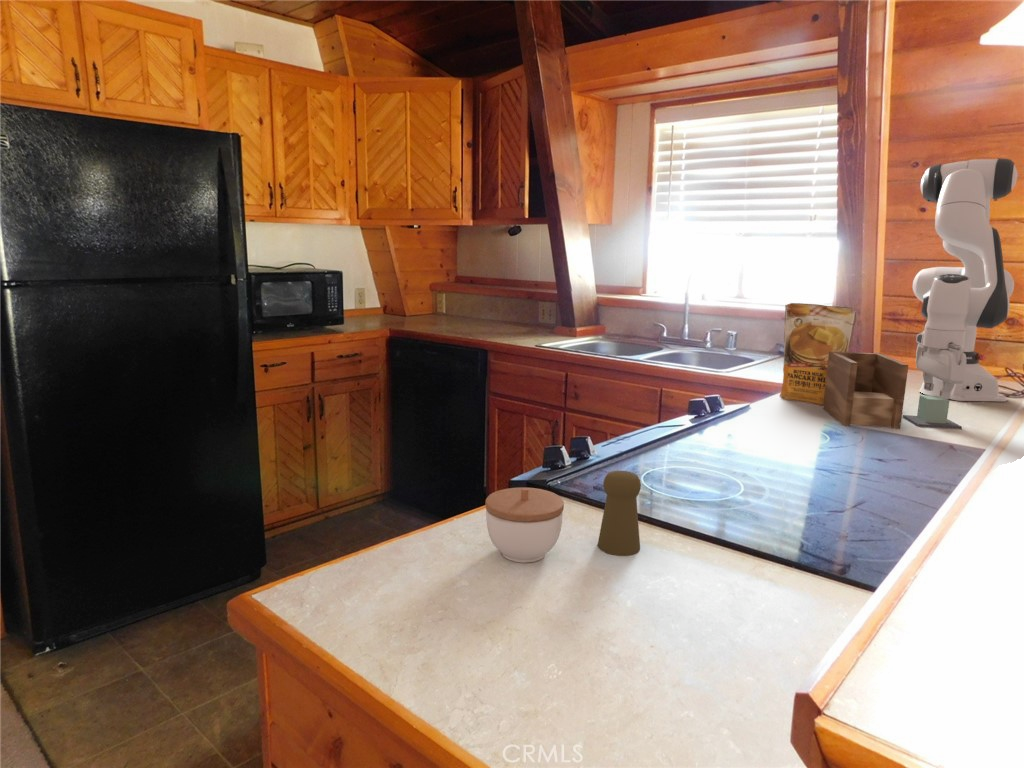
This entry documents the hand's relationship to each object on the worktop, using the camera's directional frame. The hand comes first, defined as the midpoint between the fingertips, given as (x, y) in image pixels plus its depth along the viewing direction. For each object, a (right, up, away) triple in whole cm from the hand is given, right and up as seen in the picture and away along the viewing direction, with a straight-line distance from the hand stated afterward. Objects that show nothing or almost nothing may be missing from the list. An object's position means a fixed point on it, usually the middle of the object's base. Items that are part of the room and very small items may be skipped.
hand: (936, 394), depth 173 cm
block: (-1, -7, +1) cm, 7 cm away
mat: (-1, -7, +1) cm, 8 cm away
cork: (-93, -21, -76) cm, 122 cm away
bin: (-17, -6, +5) cm, 19 cm away
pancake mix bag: (-22, -3, +25) cm, 33 cm away
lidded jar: (-106, -21, -78) cm, 134 cm away
